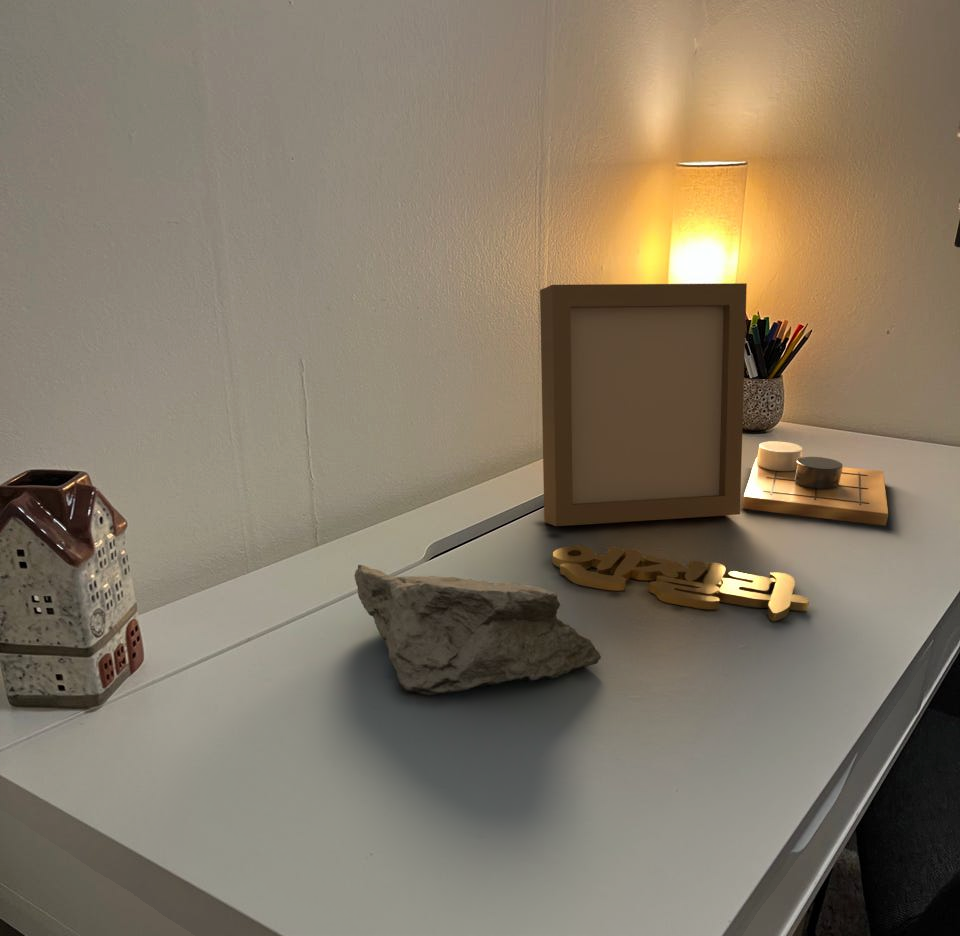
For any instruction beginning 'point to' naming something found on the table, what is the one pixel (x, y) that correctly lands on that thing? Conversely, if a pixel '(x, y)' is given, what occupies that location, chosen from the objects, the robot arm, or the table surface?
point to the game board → (820, 496)
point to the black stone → (818, 472)
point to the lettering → (680, 580)
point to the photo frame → (642, 401)
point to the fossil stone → (469, 631)
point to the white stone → (778, 455)
